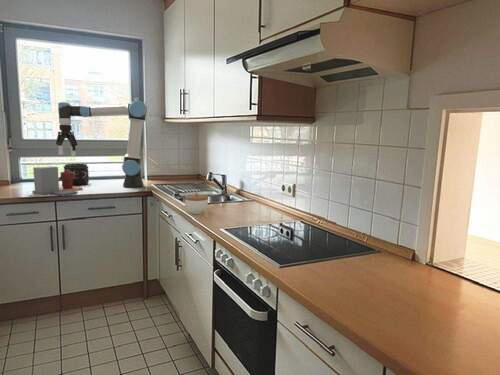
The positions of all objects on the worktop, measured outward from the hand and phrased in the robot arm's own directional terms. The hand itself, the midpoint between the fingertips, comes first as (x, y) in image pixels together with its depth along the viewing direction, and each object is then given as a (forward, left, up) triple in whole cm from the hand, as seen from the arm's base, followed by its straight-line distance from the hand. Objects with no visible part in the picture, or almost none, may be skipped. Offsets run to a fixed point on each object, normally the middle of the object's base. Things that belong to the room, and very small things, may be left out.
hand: (67, 155), depth 260 cm
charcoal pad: (-13, +12, -25) cm, 31 cm away
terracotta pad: (0, +1, -25) cm, 25 cm away
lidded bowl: (-119, +6, -25) cm, 121 cm away
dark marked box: (+19, -20, -25) cm, 37 cm away
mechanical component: (0, +1, -24) cm, 24 cm away
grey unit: (0, +16, -25) cm, 30 cm away
